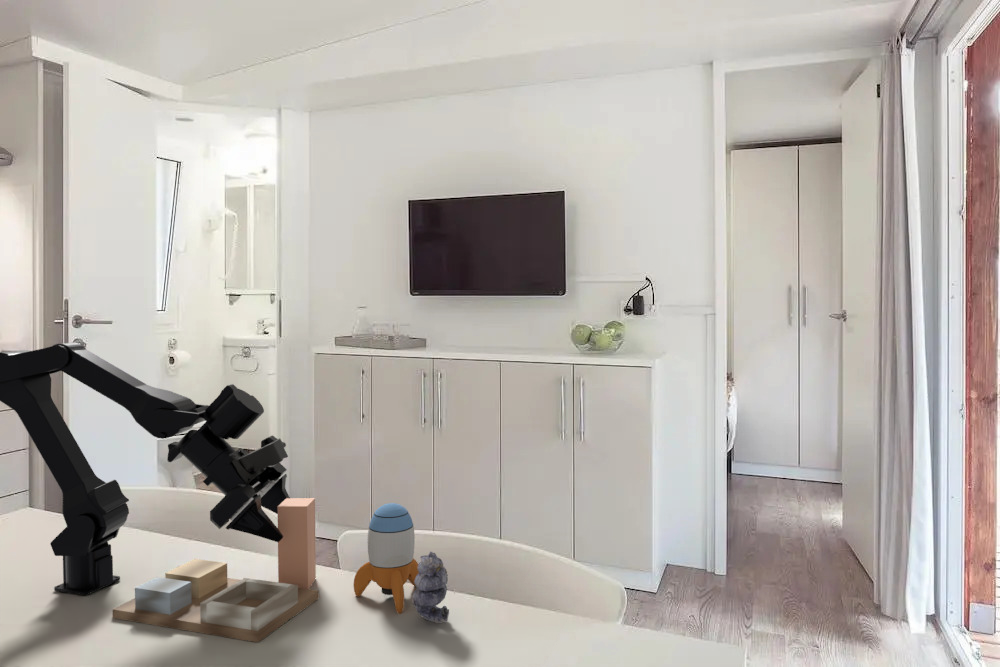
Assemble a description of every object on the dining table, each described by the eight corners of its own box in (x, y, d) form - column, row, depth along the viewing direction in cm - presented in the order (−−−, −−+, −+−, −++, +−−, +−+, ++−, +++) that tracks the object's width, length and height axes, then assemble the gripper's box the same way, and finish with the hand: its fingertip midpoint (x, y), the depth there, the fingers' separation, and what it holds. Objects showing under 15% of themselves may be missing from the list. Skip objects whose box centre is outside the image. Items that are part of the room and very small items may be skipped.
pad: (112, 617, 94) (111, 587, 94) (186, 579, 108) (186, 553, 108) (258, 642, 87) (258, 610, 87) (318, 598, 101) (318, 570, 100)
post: (278, 590, 103) (277, 506, 103) (287, 579, 108) (286, 498, 107) (308, 590, 103) (307, 506, 103) (315, 578, 108) (314, 498, 108)
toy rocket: (416, 621, 95) (392, 522, 93) (346, 627, 97) (321, 530, 95) (435, 582, 105) (414, 491, 103) (371, 588, 107) (350, 500, 105)
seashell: (455, 617, 94) (455, 546, 94) (440, 635, 89) (439, 560, 89) (421, 612, 96) (420, 542, 96) (403, 629, 91) (403, 555, 90)
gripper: (230, 434, 95) (310, 510, 96) (273, 414, 114) (339, 478, 115) (175, 490, 96) (255, 566, 96) (227, 461, 114) (294, 524, 115)
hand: (290, 529), depth 105 cm, fingers open, 9 cm apart
